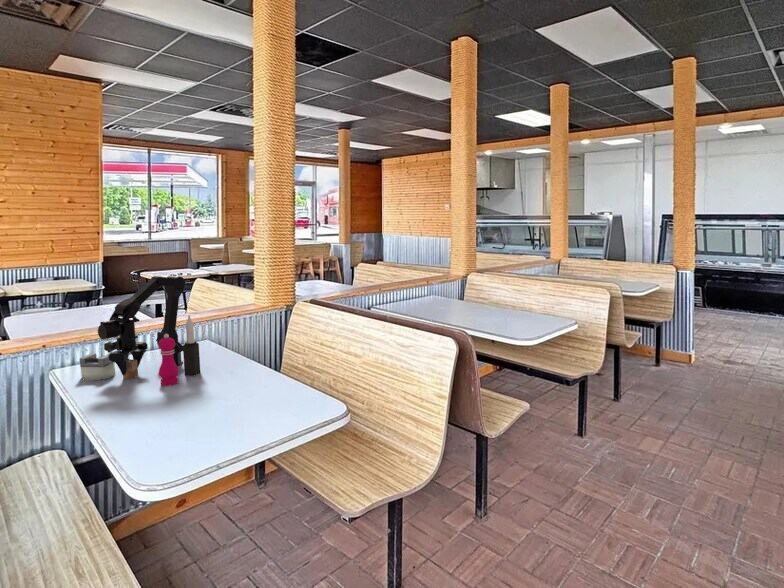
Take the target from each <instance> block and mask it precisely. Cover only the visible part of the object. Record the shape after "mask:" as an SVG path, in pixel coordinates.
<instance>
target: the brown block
mask: <svg viewBox="0 0 784 588" xmlns="http://www.w3.org/2000/svg"><path fill="white" fill-rule="evenodd" d="M138 369H139V367H138V366H137V360H133V359H129V362H128V367H127V371H126V375H122V378H123V380H134V379H136V378H138V377H139V370H138Z"/></svg>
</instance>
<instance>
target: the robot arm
mask: <svg viewBox="0 0 784 588" xmlns="http://www.w3.org/2000/svg"><path fill="white" fill-rule="evenodd" d="M162 286H163V287H164V290H165V293H166V304H165V311H164V318H163V327H162V330H161V331H157V333H156V340H155V342H156V344H157V346H158V344H159V341H160V340H161V339H163V338H164V335H165V334H168V335H169V338H172V339H173V340H174V341H175V347H174V348H173V349H174V353H173V357H174V361H175V363H176V365H177V367H179V366H180V365H182V364H184V360H182V353H183V345H184V344H181V343H180V342H179V335H178V332H177V330H176V328H177V319H178V312H179V303H180V302H179V301H180V297H181V296H182V294H183V293H184V291H185V287H186V279H185V278H184V277H183V276H179V275H168V276H165V277H164V276H161V275H154V276H152V277H151V278H150V279H149V280H148V281H147V282H146V283H145V284H144V285H143V286H141V288H139V289H138V290H137V291H136V292H135V293H134V294H133V295H132V296H130V297H129V298H125V299H123V300H122V301H120V302H119V303H117V304H116V305H115V306H114V311H113V312H112V314H111V316H110V318H109V319H108V320H105V321H104V320H103V321H100V322H99V323H100V324H99V326H98V329H97V335H98V337H99V338H100V339H101V340H107V339H112V338H116V337H117V338H116V341H113V342H112V341H108V342H105V343H103V350H104V351H106V352H107V353H108V354H109V355H108V358H109V361H112V362H115V364H116V365H117V368H118V369H119V371H120V373H121V375H122V376H123V375H126V371H127V367H128V362H129V360H130V358H129V357H130V354H131V356H132V360H137V366H138V368H139V366H140V364H141V361H142V359H143V357H144V355H145V353H146V352H147V350H148V348H149V347H148V344H147V342H146V341H137V340H136V339H138V338H139V337H138V334H136V326H135V325H136V324H135V323H137V322H140V319H139V318H137V317H136V315H137V314H138V312H140V309H141V306H142V305H143V304H144V303H145V301H147V299H149V298H150V297H151V296H152V295H154V293H155V292H156V291H158V290H159V289H160V288H161V287H162Z"/></svg>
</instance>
